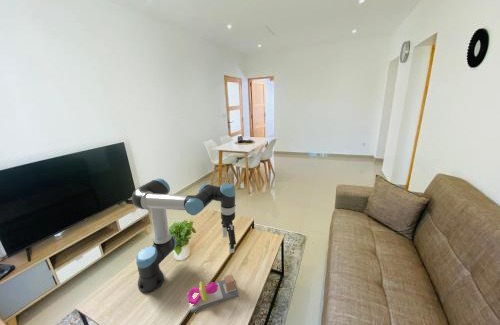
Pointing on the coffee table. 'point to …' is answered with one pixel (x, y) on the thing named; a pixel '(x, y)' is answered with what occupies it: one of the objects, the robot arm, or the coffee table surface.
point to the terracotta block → (229, 282)
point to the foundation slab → (216, 297)
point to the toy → (202, 292)
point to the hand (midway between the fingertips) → (228, 244)
